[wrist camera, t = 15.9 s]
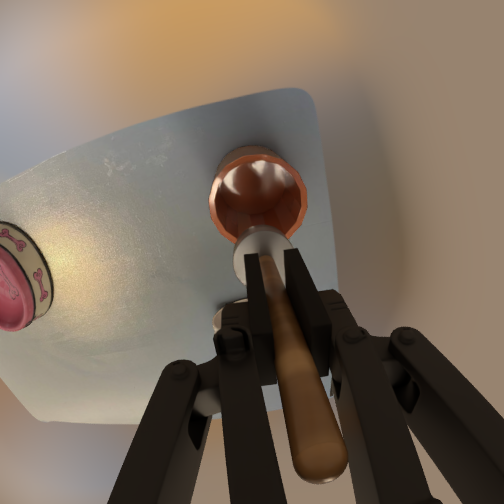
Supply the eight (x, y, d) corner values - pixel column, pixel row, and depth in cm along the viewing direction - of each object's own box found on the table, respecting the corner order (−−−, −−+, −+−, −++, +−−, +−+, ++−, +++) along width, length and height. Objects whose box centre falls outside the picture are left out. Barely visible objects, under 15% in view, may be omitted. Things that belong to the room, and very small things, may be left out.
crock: (210, 150, 36) (202, 161, 27) (285, 142, 36) (304, 150, 27) (220, 221, 40) (216, 254, 31) (291, 212, 40) (308, 243, 31)
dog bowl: (19, 329, 46) (3, 351, 39) (-34, 251, 38) (-55, 268, 32) (73, 296, 43) (55, 321, 37) (11, 200, 36) (-16, 215, 30)
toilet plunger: (230, 227, 25) (203, 430, 5) (288, 221, 26) (440, 385, 5) (236, 282, 27) (237, 526, 6) (292, 276, 27) (396, 496, 6)
